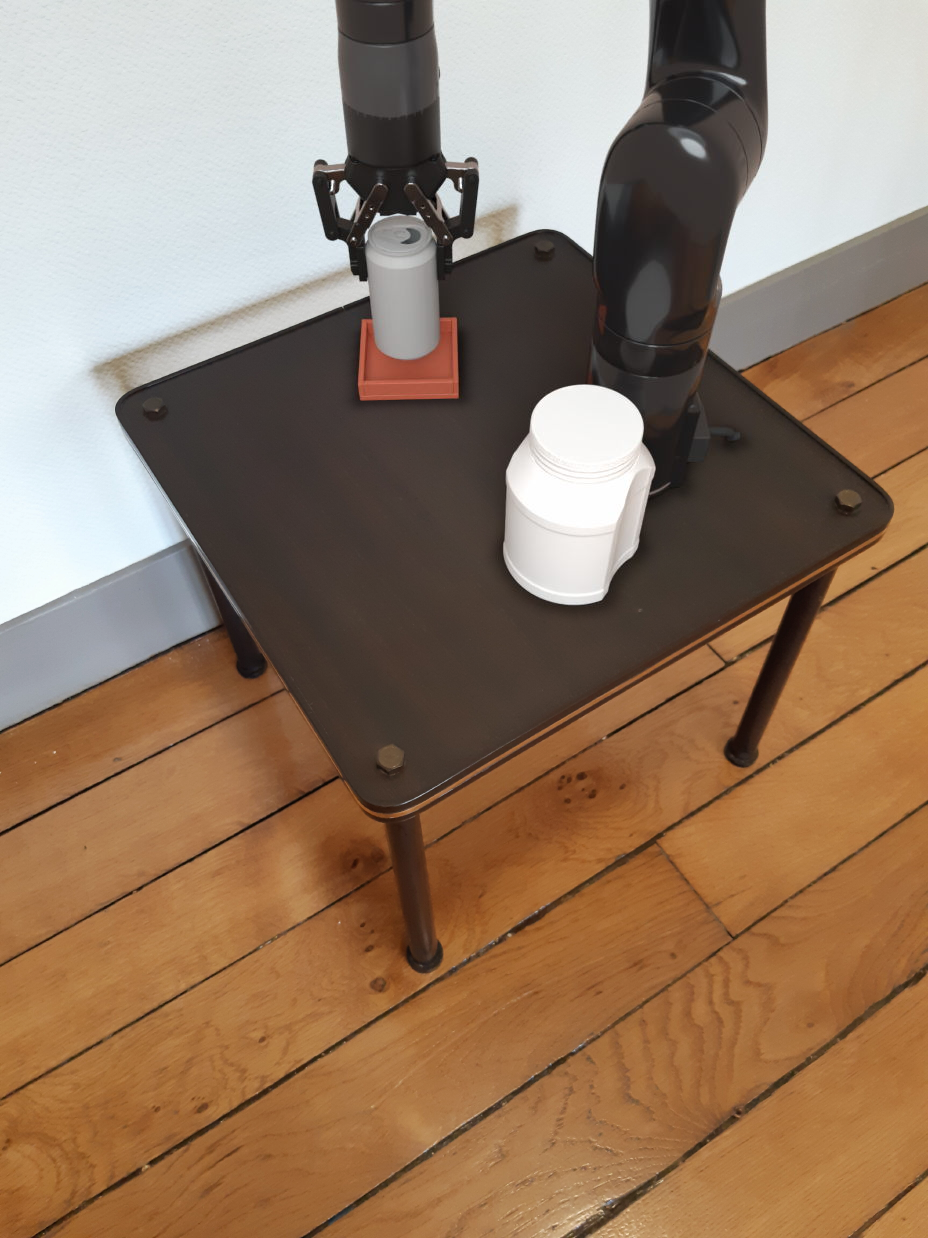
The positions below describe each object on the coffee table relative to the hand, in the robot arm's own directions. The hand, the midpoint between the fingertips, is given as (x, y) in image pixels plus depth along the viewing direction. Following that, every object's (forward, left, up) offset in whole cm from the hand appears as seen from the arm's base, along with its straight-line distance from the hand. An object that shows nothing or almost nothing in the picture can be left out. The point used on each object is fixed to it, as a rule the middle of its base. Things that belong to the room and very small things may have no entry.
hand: (402, 275), depth 85 cm
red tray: (0, 0, -11) cm, 11 cm away
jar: (-14, +24, -11) cm, 30 cm away
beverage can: (0, 0, -8) cm, 8 cm away
